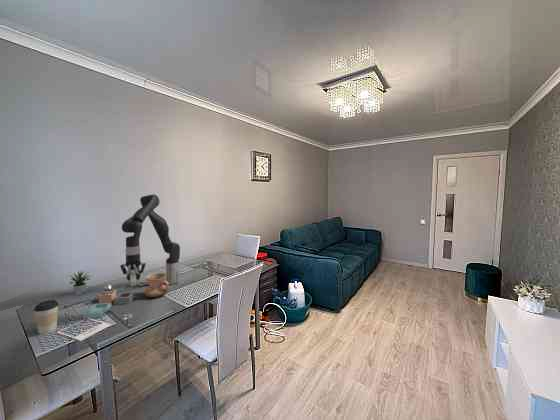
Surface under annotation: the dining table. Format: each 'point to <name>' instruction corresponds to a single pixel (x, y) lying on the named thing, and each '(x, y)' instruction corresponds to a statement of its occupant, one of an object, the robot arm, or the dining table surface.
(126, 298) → the checker cradle
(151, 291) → the ceramic jug
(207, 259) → the dining table surface
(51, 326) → the coffee cup
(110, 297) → the cup
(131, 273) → the cell green
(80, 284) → the house plant
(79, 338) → the photo frame
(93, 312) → the trough
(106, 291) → the cell grey
